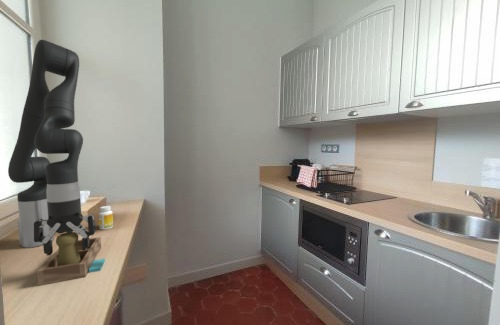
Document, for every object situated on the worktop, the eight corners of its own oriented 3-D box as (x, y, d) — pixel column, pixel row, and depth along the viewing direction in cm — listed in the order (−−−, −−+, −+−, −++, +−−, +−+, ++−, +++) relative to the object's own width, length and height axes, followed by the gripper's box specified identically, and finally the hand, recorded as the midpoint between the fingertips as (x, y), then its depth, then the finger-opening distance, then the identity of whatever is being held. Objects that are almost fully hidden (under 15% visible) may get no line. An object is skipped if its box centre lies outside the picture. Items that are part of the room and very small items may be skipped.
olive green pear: (68, 276, 65) (65, 238, 64) (50, 273, 66) (47, 236, 65) (87, 264, 71) (84, 230, 70) (70, 263, 72) (68, 229, 71)
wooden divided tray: (65, 252, 80) (65, 241, 80) (111, 246, 85) (111, 235, 85) (38, 285, 61) (37, 271, 61) (98, 274, 67) (98, 261, 66)
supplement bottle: (96, 230, 101) (95, 208, 100) (103, 225, 107) (102, 205, 106) (109, 229, 102) (108, 208, 101) (115, 225, 107) (114, 205, 106)
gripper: (25, 203, 60) (30, 262, 62) (89, 198, 66) (93, 252, 67) (39, 197, 67) (43, 250, 69) (96, 193, 73) (99, 242, 74)
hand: (67, 251), depth 68 cm, fingers open, 8 cm apart
